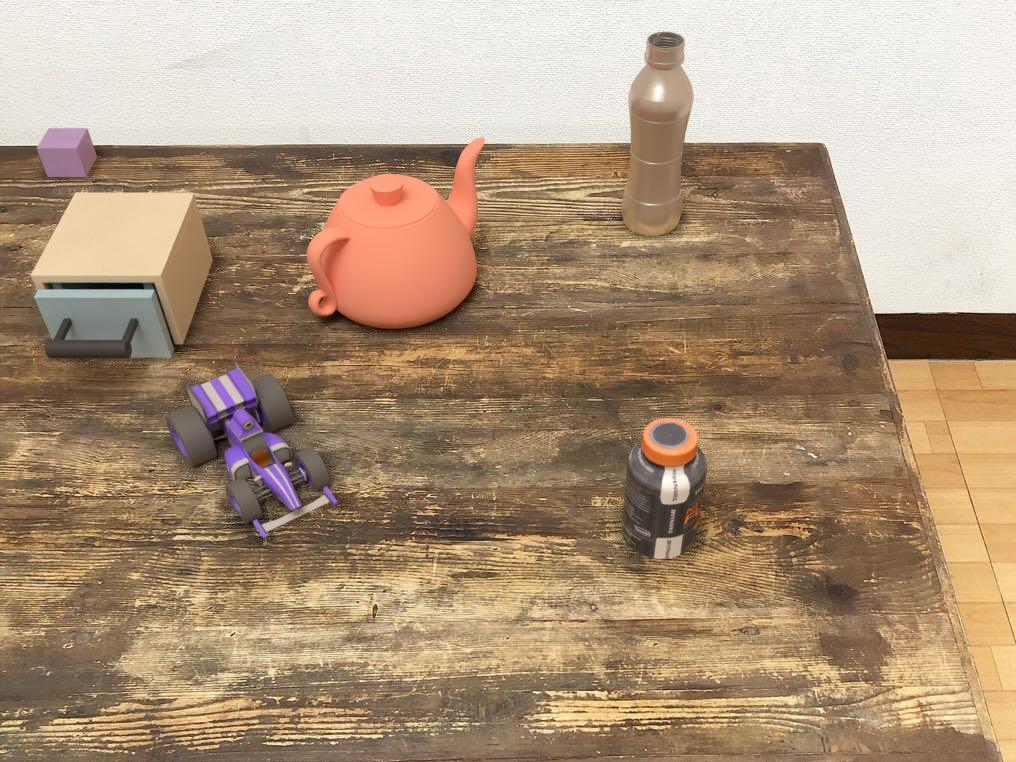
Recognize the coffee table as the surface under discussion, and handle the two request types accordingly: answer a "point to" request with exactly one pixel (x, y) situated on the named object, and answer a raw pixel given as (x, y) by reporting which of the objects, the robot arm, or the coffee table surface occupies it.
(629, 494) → the pill bottle
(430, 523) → the coffee table surface
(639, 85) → the plastic bottle
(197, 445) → the toy race car
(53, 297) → the blue drawer
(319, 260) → the teapot
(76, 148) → the purple cube
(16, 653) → the coffee table surface
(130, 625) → the coffee table surface
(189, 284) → the drawer cabinet
